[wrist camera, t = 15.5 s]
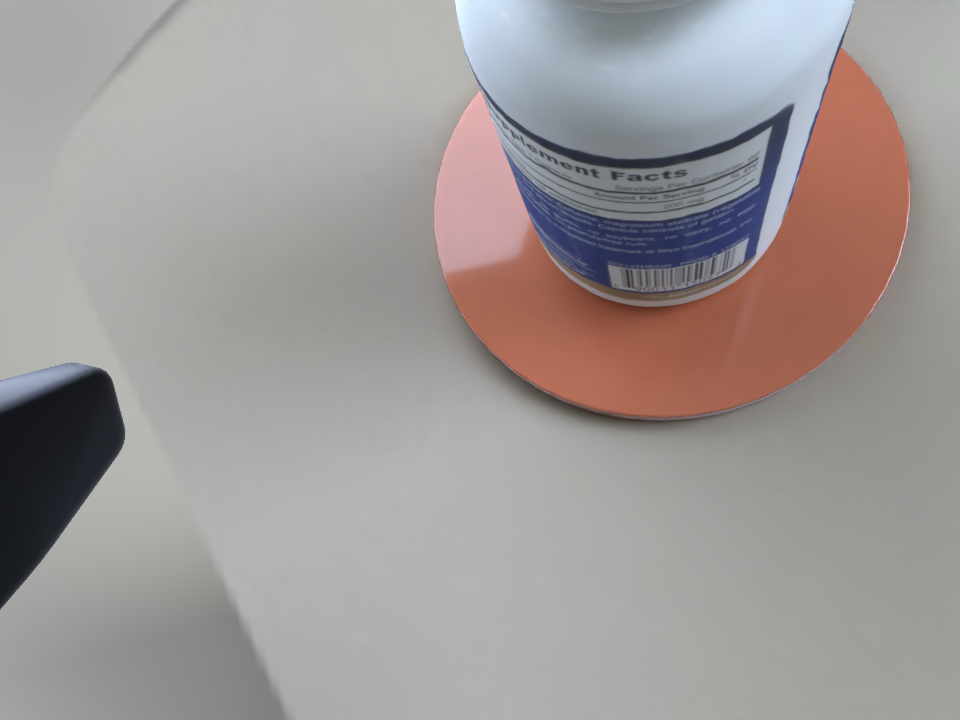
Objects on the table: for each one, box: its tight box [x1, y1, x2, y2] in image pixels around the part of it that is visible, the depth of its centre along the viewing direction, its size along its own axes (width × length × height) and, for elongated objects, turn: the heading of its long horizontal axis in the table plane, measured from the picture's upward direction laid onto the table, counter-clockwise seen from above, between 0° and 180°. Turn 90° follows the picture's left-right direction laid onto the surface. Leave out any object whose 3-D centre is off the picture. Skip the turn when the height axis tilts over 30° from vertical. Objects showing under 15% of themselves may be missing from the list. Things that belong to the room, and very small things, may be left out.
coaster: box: [434, 47, 911, 421], centre depth 17 cm, size 10×10×1 cm
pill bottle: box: [455, 0, 855, 307], centre depth 13 cm, size 5×5×10 cm
